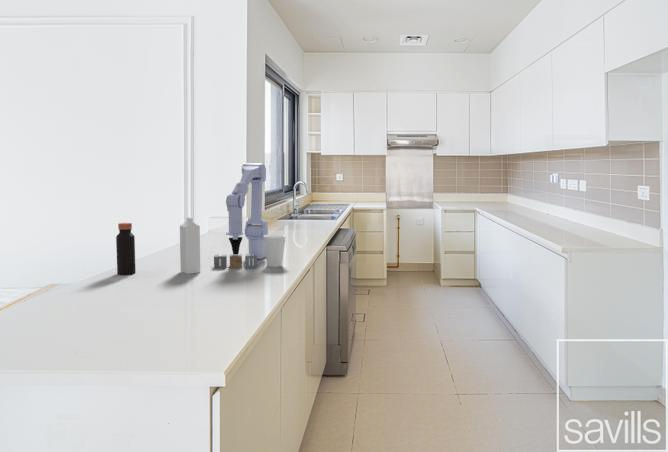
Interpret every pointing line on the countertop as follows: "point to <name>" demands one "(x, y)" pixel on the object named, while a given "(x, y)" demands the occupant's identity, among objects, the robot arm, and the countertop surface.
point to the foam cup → (274, 249)
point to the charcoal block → (220, 261)
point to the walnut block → (236, 261)
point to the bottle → (125, 250)
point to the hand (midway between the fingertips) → (235, 254)
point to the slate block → (250, 260)
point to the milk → (190, 247)
